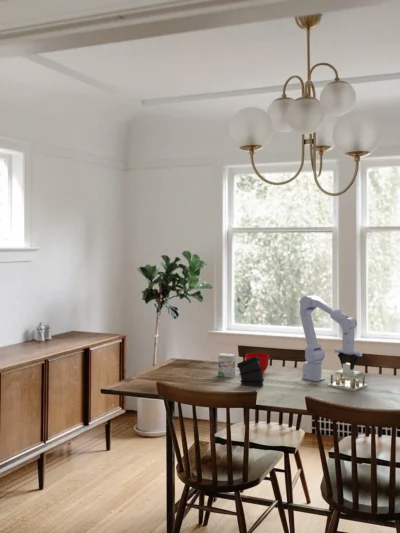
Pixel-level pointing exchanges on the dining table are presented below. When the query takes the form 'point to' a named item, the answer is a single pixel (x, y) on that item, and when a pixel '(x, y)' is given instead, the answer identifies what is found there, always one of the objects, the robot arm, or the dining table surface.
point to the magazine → (251, 372)
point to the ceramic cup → (260, 359)
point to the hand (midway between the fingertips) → (347, 368)
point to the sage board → (347, 370)
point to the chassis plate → (347, 383)
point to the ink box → (226, 365)
